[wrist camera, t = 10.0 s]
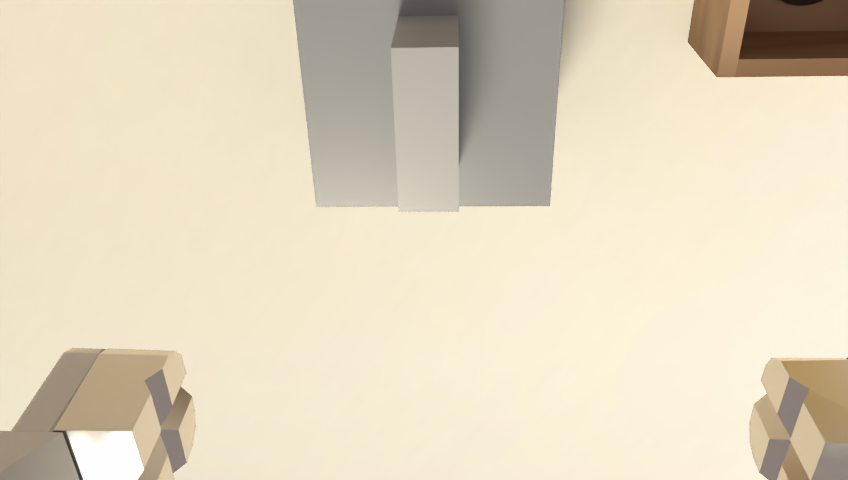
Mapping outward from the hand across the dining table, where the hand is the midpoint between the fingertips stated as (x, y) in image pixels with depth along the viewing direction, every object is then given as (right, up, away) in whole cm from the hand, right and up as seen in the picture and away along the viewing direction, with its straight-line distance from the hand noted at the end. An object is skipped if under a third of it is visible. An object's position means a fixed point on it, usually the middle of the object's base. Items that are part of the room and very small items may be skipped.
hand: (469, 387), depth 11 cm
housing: (0, +10, +18) cm, 21 cm away
